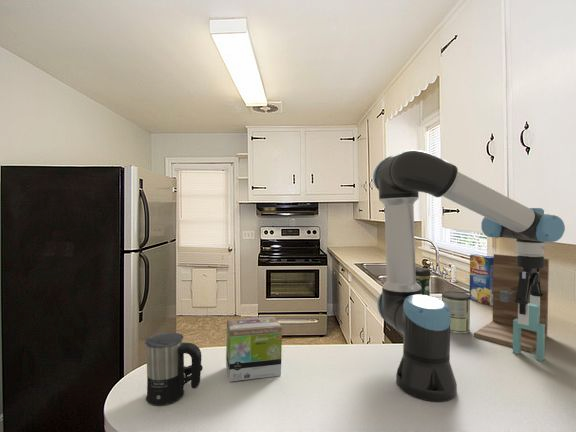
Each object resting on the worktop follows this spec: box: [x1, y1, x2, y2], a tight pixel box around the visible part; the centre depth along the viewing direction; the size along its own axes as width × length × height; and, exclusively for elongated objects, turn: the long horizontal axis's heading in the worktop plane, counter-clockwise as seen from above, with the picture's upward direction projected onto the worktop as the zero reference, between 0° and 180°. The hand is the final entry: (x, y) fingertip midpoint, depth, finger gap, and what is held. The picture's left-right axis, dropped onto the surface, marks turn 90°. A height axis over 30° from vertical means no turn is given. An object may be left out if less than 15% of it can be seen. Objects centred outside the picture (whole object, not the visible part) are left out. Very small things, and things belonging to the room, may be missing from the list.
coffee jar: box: [415, 266, 432, 297], centre depth 168 cm, size 10×8×19 cm
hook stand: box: [473, 253, 550, 353], centre depth 125 cm, size 22×18×30 cm
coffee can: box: [441, 290, 471, 334], centre depth 133 cm, size 10×10×14 cm
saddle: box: [512, 303, 546, 362], centre depth 109 cm, size 3×8×17 cm, turn 41°
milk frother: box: [144, 332, 204, 407], centre depth 88 cm, size 14×16×15 cm
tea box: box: [225, 316, 283, 383], centre depth 97 cm, size 15×10×15 cm, turn 105°
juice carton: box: [468, 253, 494, 306], centre depth 173 cm, size 12×8×24 cm, turn 21°
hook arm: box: [500, 287, 518, 303], centre depth 125 cm, size 18×2×4 cm, turn 131°
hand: (529, 319), depth 109 cm, fingers open, 13 cm apart
